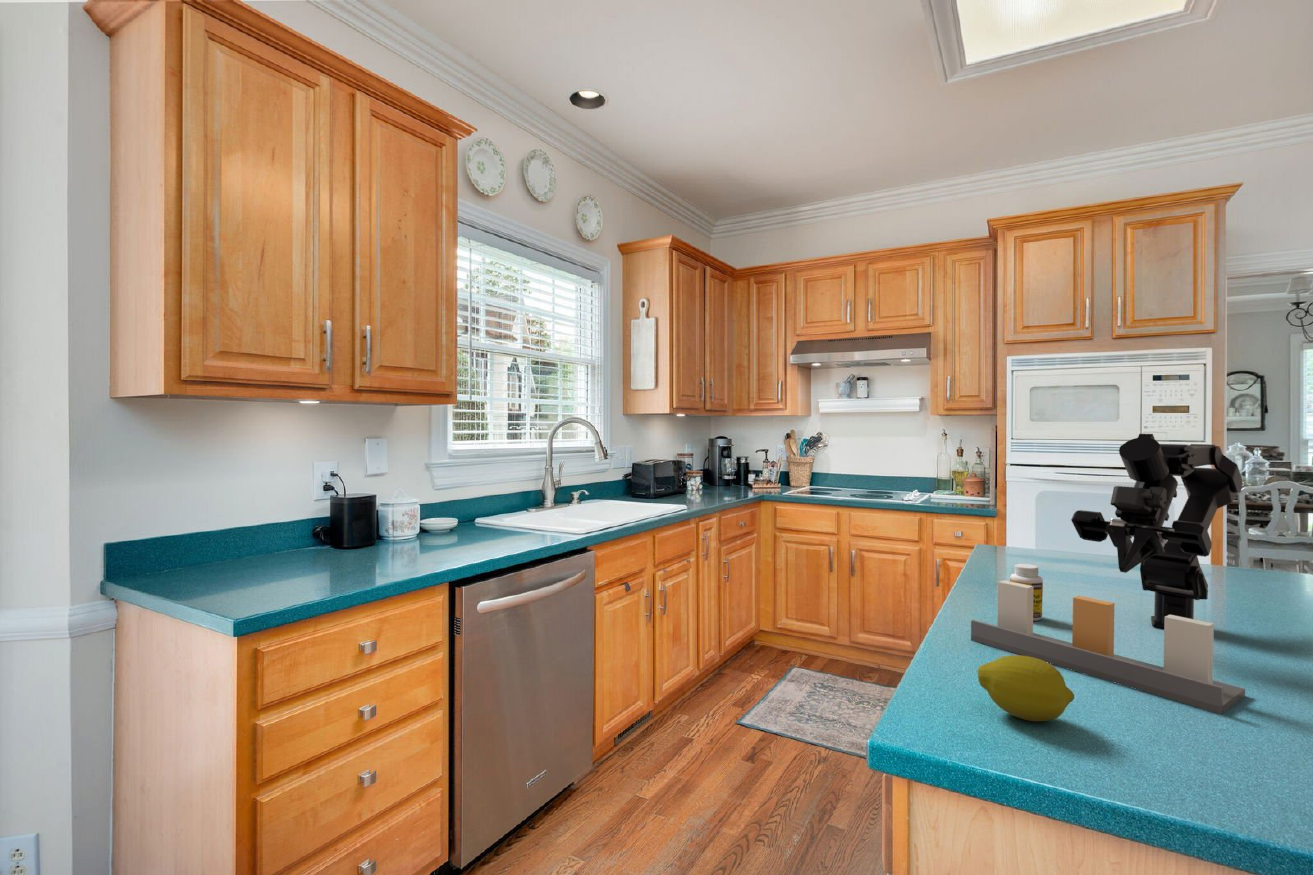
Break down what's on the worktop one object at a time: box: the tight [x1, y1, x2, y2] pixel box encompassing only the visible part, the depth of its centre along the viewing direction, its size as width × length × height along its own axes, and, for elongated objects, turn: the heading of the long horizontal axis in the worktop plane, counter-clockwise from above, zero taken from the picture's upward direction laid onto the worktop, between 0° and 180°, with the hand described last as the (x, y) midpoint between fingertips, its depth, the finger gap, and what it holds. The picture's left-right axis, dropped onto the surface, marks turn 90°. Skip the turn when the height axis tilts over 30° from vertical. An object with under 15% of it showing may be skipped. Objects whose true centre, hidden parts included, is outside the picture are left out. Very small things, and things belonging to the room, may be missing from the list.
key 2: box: [1163, 615, 1215, 684], centre depth 90 cm, size 2×5×9 cm, turn 34°
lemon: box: [977, 654, 1075, 722], centre depth 83 cm, size 11×8×8 cm
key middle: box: [1071, 595, 1115, 657], centre depth 100 cm, size 2×5×9 cm, turn 34°
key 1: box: [997, 580, 1034, 636], centre depth 110 cm, size 2×5×9 cm, turn 34°
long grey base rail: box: [970, 619, 1246, 715], centre depth 100 cm, size 10×34×4 cm, turn 34°
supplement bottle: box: [1009, 563, 1044, 622], centre depth 124 cm, size 6×6×10 cm
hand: (1122, 570), depth 106 cm, fingers closed
